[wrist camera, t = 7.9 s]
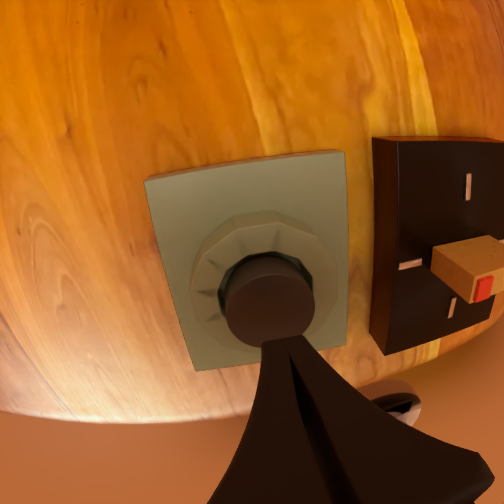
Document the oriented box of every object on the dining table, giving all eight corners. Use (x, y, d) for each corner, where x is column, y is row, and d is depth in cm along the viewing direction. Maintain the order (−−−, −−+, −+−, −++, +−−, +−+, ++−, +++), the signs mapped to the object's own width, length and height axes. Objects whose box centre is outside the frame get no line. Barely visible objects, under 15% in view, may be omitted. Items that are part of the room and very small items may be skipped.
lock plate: (469, 301, 20) (490, 320, 17) (368, 332, 19) (385, 358, 17) (487, 137, 15) (517, 144, 12) (371, 136, 14) (398, 141, 12)
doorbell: (340, 333, 19) (357, 364, 16) (195, 358, 18) (194, 394, 16) (335, 149, 14) (361, 156, 12) (148, 176, 14) (132, 189, 11)
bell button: (306, 317, 15) (316, 340, 13) (231, 330, 15) (234, 355, 13) (302, 248, 13) (313, 266, 12) (217, 262, 13) (218, 282, 12)
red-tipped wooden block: (488, 234, 14) (532, 260, 11) (484, 256, 15) (526, 285, 12) (432, 246, 14) (478, 279, 11) (429, 270, 15) (471, 307, 11)
